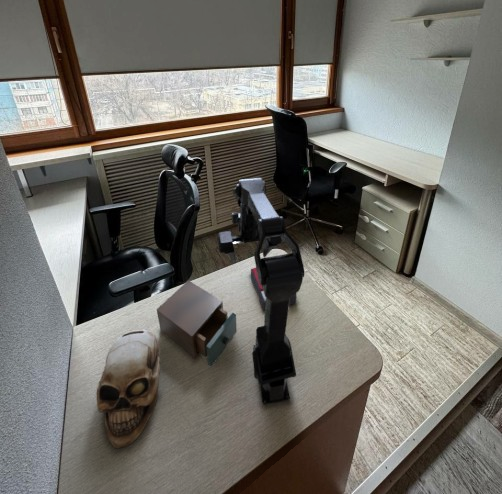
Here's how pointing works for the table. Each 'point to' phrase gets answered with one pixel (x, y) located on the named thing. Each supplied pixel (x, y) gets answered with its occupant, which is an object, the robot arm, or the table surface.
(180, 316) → the cabinet
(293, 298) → the calculator
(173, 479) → the table surface
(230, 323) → the drawer
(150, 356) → the coin bank
